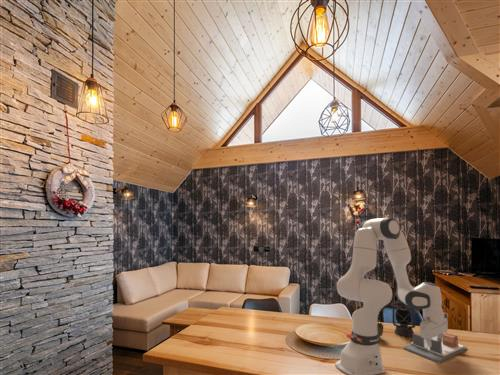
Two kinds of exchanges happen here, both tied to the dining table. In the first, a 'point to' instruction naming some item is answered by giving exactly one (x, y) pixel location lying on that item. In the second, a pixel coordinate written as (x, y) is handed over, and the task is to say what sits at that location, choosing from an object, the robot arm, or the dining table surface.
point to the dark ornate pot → (380, 329)
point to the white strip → (442, 348)
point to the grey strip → (421, 341)
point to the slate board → (431, 353)
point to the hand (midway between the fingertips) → (434, 344)
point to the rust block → (450, 340)
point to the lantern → (403, 319)
